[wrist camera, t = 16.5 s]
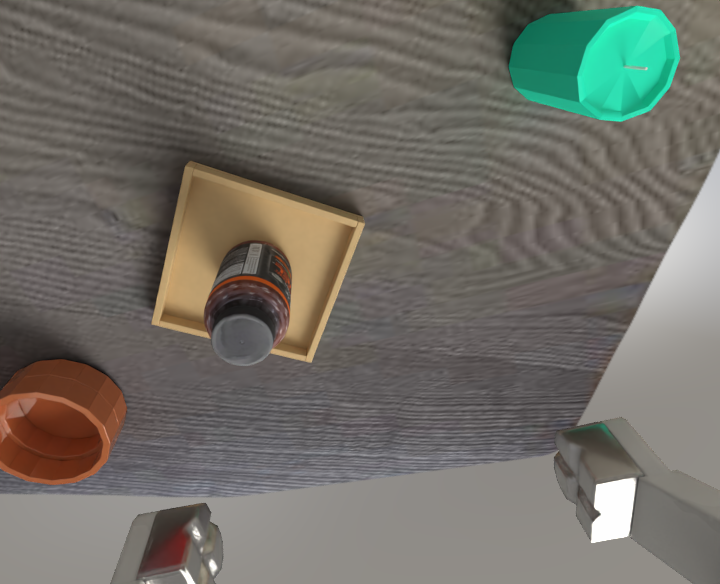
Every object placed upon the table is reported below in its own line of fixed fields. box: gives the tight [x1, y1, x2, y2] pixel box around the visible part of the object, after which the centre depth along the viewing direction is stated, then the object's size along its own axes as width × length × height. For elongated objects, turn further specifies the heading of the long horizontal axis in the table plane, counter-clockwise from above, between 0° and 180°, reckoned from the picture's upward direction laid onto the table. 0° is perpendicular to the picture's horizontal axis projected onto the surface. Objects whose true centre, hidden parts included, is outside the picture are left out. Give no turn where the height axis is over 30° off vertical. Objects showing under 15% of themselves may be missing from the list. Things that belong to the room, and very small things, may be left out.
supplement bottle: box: [204, 240, 292, 366], centre depth 37 cm, size 6×6×11 cm
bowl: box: [0, 359, 127, 485], centre depth 44 cm, size 10×10×5 cm
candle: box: [509, 6, 680, 122], centre depth 31 cm, size 6×6×12 cm
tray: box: [151, 161, 365, 363], centre depth 41 cm, size 14×14×2 cm
